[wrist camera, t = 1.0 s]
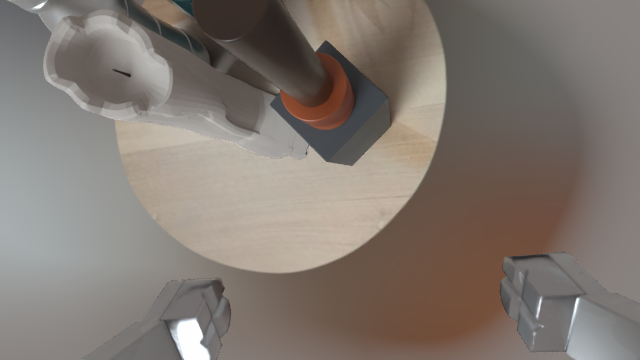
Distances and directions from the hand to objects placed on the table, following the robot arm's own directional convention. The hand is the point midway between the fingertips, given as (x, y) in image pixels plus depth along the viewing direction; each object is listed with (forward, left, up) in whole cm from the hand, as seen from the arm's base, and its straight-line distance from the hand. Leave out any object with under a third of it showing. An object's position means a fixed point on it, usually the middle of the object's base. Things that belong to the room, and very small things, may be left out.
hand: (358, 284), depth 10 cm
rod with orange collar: (-3, -8, -13) cm, 16 cm away
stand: (-3, -8, -27) cm, 29 cm away
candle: (+4, -17, -27) cm, 32 cm away
